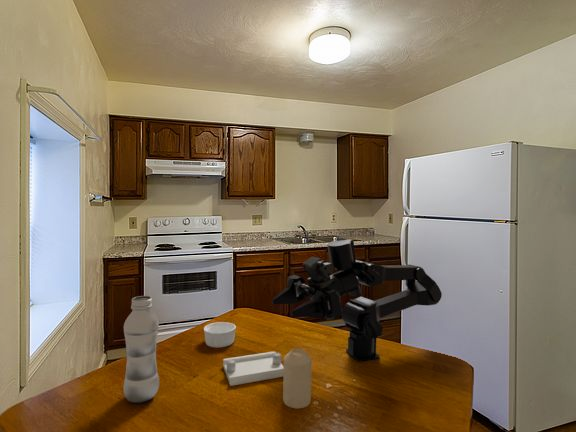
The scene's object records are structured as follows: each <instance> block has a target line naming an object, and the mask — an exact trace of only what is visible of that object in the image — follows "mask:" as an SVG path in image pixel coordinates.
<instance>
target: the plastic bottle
mask: <svg viewBox="0 0 576 432" xmlns="http://www.w3.org/2000/svg"><path fill="white" fill-rule="evenodd" d="M152 300H153V299H152V296H151V295H138V296H135V297H132V298H131V305H130V309H131V313H130V314H129V315H128V316H127V318H126V319H125V321H124V324H123V334H124V339H125V348H126V349H125V350H126V351H125V352H126V365H125V366H126V369H125V377H124V382H123V387H122V389H123V394H124V397H125V398H126V400H127V401H128V402H130V403H134V404H136V403H137V404H140V403H144V402H148V401H150V400H151V399H153V398H154V397H155V396H156V394H157V393H158V391H159V387H160V377H159V372H158V367H157V366H158V365H157V355H156V354H157V339H158V334H159V325H160V323H159V320H158V319H159V318H158V317H157V315H156V314H155V312H154V311H153V310H152V308H153V301H152Z"/></svg>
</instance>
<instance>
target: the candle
mask: <svg viewBox="0 0 576 432" xmlns="http://www.w3.org/2000/svg"><path fill="white" fill-rule="evenodd" d="M312 362H313V360H312V357H311V356H310V355H309V353H308V352H307V351H306V350H305V349H303V348H300V349H299V348H292V349H291V350H290V351H289V352H287V354H285V355H284V357H283V366H284V376H283V377H282V378H283V379H282V380H283V385H282V390H283V391H282V399H283V400H282V401H283V403H284V404H285V405H286V406H287V407H289V408H291V409H295V410H297V409H305V408H307V407H308V406H309V405H310V403H311V397H312V396H311V395H312Z"/></svg>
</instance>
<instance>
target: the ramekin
mask: <svg viewBox="0 0 576 432" xmlns="http://www.w3.org/2000/svg"><path fill="white" fill-rule="evenodd" d="M236 330H237V327H236V325H235V324H234V323H232V322H228V321H226V322H225V321H218V322H213V323H211V322H210V323H208V324H206V325H205V326H203V332H204V341H205V344H206V345H207V346H208V347H211V348H218V349H219V348H225V347H228V346H231V345H232V344H233V343H234V342H235V337H236V336H235V333H236Z"/></svg>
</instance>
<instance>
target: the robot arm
mask: <svg viewBox="0 0 576 432" xmlns="http://www.w3.org/2000/svg"><path fill="white" fill-rule="evenodd" d="M326 246H327V250H328V257H329V262H325V261H324V260H322V259H321V258H319V257H315V256H310V257H309V258H308V259H307V260H305V262H303V263H302V269H304V271H305V272H306V274H307V275H308V278H307V284H306V281H305V279H304V278H303V277H301V276H299V275H296V274H292V275H289V276H287V285H286V287H285V288H284V289H283V290H282V291H281V292H280V293H279V294H277V295H276V296H275V297H274V298H273V299H271V303H272V305H278V306H279V305H292V304H293V305H295V304H297V305H298V304H299V303H300V302H304V301H305V302H304V303H302V304H300V305H299V306H297V307H295V308H294V309H291V311H290V314H291V316H292V317H300V318H314V319H316V318H317V319H323V320H324V319H325V320H331V321H335V320H337V319H340V318H341V319H342V321H343V322H344V325H345V328H347V329H349V336H348V337H347V348H346V349H345V352H346V353H348V354H349V355H350V356H351V357H352V358H353V359H355V360H356V361H358V362H363V361H364V362H365V361H370V360H371V361H372V360H376V359H380V357H381V356H380V354H378V353H377V339H378V338H379V337H381V336H382V333H383V330H384V327H383V326H382V324H381V323H380V320H381V319H383V318H386V317H388V316H390V315H393V314H395V313H398V312H402V311H405V310H407V309H410V308H412V307H414V306H434V305H437V304H438V303H439V302H440V301H441V299H442V295H443V293H442V291H441V289H440V286H439V285H438V283H437V282H436V281H435V280H434V279H433V278H432V277H430V276H429V275H428V274H427V273H426V271H425V269H424V268H423V267H421V266H418V265H414V264H404V265H403V264H401V265H399V264H398V265H397V264H396V265H395V264H394V265H385V264H384V265H379V264H376V263H370V262H366V261H363V260H357V259H356V253H355V241H354V240H353V239H349V238H347V239H344V240H342V239H341V240H332V241H330V242H327V245H326ZM334 270H335V271H337V272H334ZM389 281H390V282H391V281H405V286H406V288H405V290H402V291H399V292H397V293H394V294H390V295H388V296H384V297H382V298H379V299H378V298H377V299H376V300H372V299H369V298H366V297H364V296H361V293H362V292H361V291H362V287H360V284H361V285H365V286H368V287H377V286H380V285H383V284H384V283H385V282H389ZM347 294H348V295H350V296H352V297H355V298H354V299H349V300H348V301H349V302H347V303H345V304H344V306H342V300H341V297H342V296H345V295H347ZM307 297H308V298H310V299H309V300H307V301H306V299H307ZM342 307H343V308H342Z"/></svg>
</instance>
